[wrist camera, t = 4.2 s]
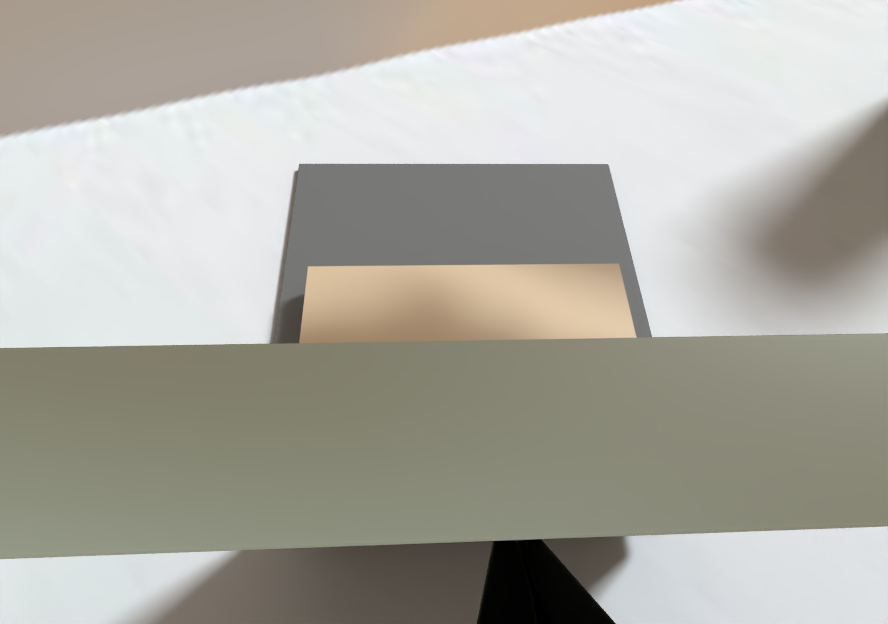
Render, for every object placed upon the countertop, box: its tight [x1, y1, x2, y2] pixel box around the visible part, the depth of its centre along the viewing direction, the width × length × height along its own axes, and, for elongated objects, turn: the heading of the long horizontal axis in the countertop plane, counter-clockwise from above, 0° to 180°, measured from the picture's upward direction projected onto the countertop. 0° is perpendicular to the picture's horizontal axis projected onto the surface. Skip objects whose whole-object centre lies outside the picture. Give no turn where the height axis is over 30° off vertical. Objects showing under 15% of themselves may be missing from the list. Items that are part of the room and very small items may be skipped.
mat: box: [274, 164, 652, 344], centre depth 21 cm, size 14×16×1 cm
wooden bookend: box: [0, 264, 888, 559], centre depth 12 cm, size 10×13×15 cm
